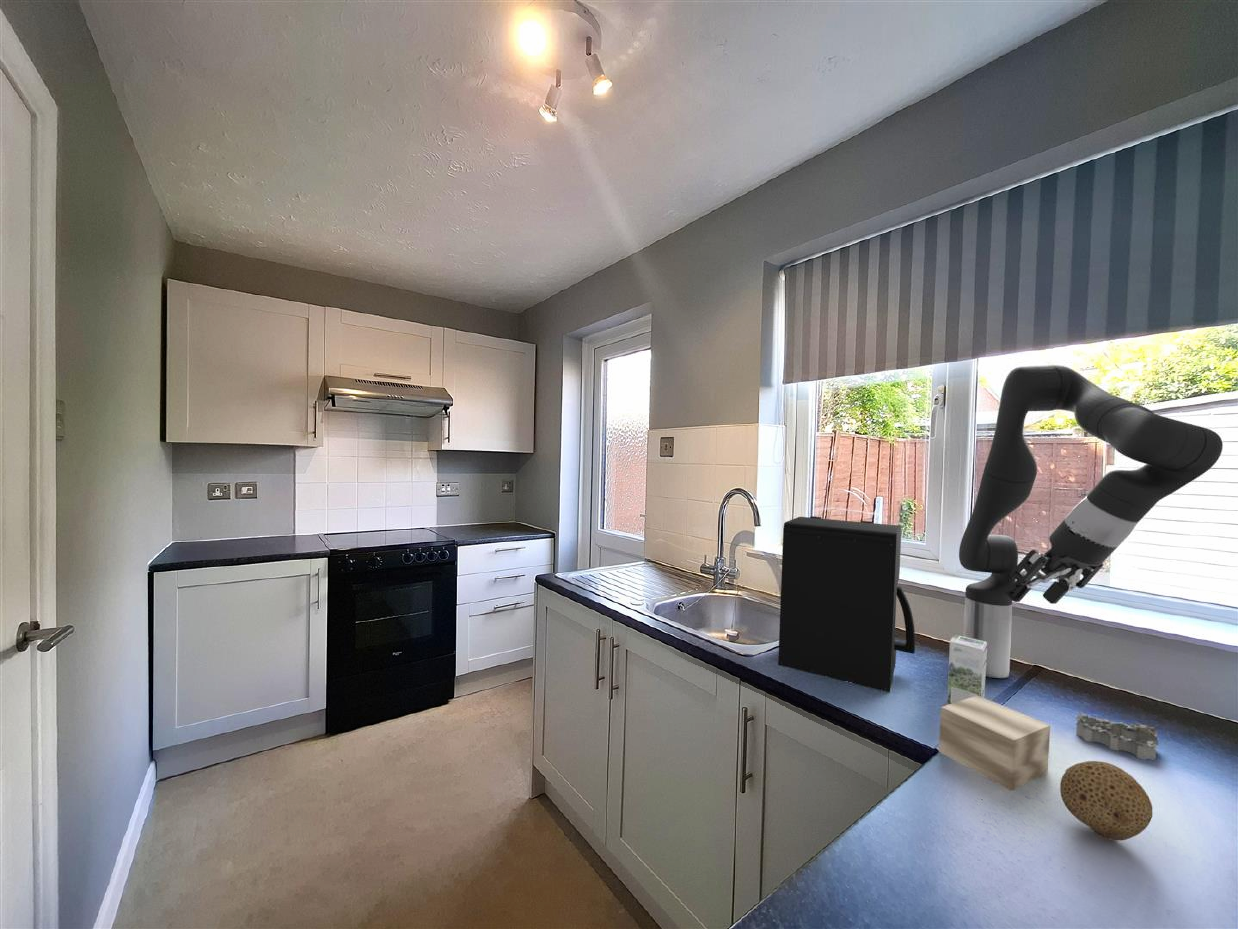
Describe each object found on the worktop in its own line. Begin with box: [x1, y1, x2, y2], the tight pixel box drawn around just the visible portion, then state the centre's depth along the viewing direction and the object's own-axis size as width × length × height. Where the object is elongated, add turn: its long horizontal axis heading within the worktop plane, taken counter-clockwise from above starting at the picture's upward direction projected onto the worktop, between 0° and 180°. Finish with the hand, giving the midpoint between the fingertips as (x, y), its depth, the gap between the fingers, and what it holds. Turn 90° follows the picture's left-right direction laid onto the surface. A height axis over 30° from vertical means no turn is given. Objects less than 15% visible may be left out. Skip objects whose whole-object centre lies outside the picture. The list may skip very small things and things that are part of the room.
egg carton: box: [1075, 712, 1159, 761], centre depth 91 cm, size 11×8×4 cm
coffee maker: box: [777, 515, 916, 694], centre depth 121 cm, size 28×20×35 cm
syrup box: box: [946, 634, 987, 705], centre depth 101 cm, size 6×6×14 cm
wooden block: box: [938, 695, 1051, 791], centre depth 84 cm, size 11×11×8 cm
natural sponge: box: [1059, 760, 1153, 842], centre depth 68 cm, size 9×9×10 cm
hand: (1030, 599), depth 90 cm, fingers open, 8 cm apart
